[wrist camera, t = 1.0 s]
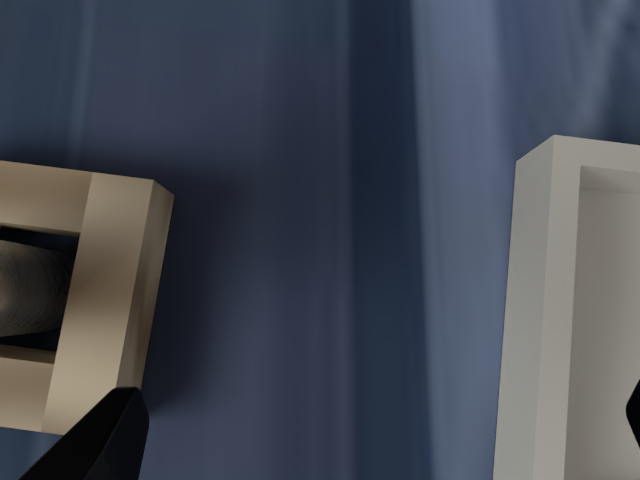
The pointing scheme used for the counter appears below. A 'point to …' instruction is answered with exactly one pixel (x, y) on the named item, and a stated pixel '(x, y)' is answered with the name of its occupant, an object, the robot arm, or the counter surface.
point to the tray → (571, 315)
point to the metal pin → (32, 288)
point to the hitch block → (85, 289)
